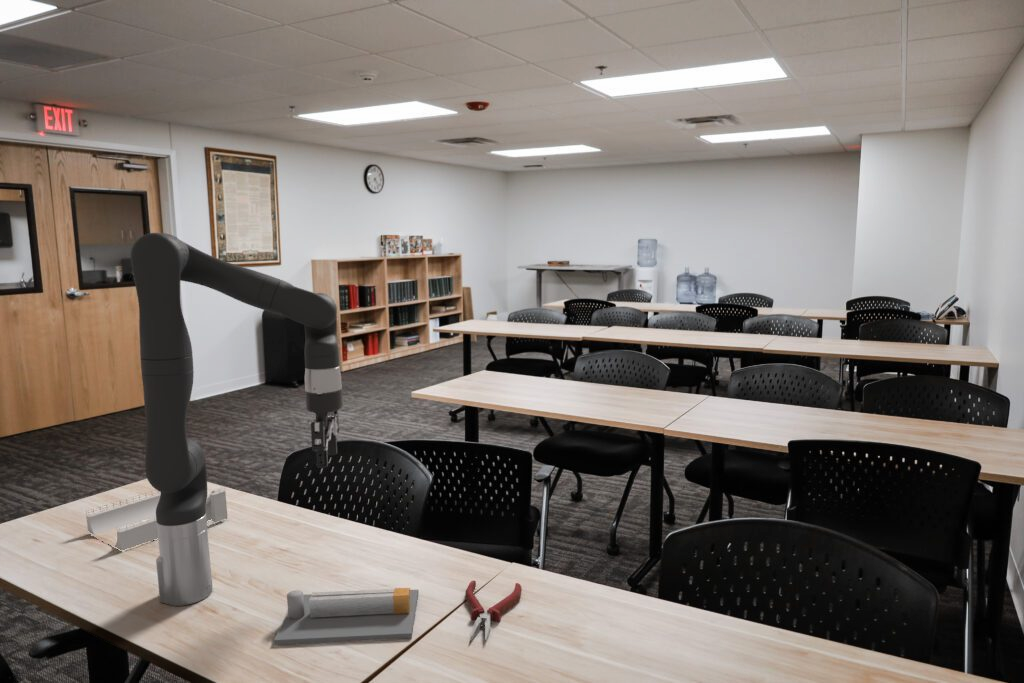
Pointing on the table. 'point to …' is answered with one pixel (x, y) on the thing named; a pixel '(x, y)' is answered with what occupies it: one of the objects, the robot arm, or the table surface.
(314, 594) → the leg
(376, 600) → the leg
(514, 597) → the pliers
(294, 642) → the mat
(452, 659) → the table surface
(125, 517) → the skate ramp
